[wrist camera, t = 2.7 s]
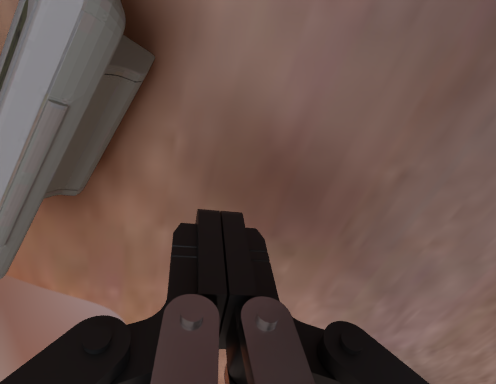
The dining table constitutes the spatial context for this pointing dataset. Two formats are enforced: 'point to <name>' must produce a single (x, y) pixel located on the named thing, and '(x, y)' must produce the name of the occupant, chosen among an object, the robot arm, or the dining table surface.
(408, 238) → the dining table surface
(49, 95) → the digital clock
